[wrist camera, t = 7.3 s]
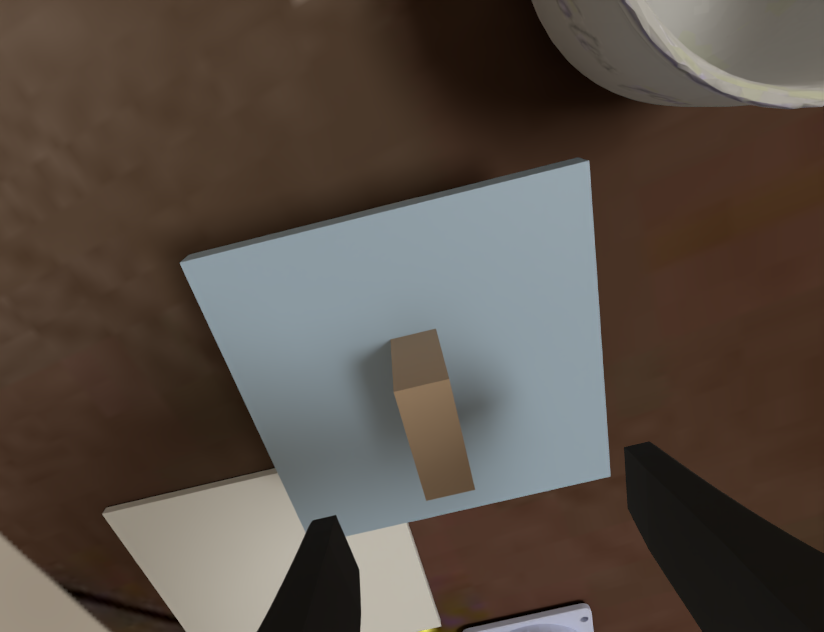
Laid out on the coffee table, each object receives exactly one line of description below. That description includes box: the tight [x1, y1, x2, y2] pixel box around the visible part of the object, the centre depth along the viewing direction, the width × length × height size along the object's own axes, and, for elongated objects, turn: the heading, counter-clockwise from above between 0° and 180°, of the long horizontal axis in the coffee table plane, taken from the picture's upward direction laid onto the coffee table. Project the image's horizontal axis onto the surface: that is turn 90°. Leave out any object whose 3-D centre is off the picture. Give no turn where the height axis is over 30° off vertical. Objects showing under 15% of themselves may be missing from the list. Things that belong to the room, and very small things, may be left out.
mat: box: [102, 468, 441, 632], centre depth 26 cm, size 14×14×1 cm
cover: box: [180, 158, 611, 537], centre depth 15 cm, size 12×12×4 cm
